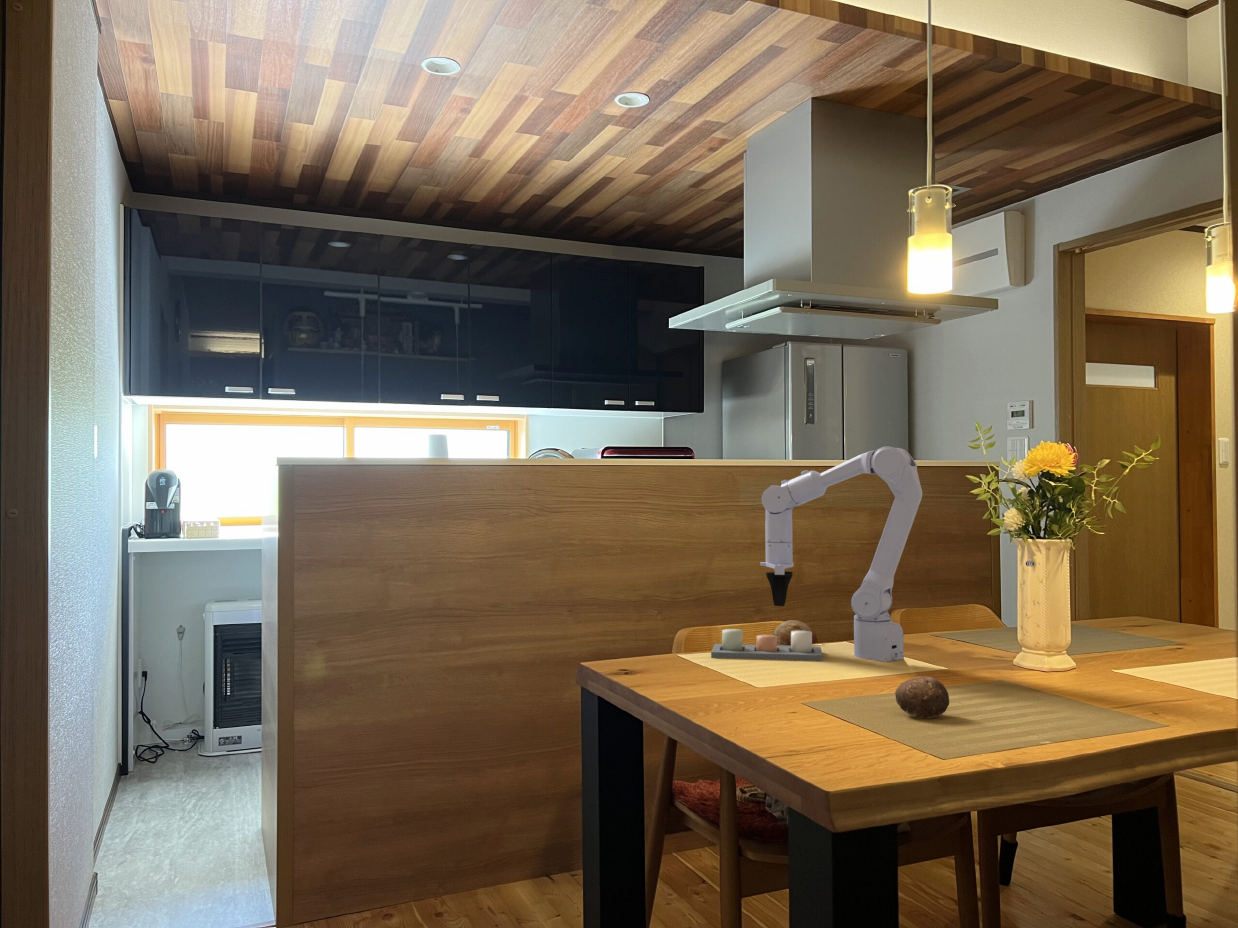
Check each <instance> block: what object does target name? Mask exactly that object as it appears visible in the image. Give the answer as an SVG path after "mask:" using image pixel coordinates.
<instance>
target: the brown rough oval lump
mask: <svg viewBox="0 0 1238 928" xmlns="http://www.w3.org/2000/svg"><path fill="white" fill-rule="evenodd" d="M894 695H895V701H896V704H897V705H898V706H899V708H900V709H901V710H902V712H904V713H905V714H908V715H909V716H911V717H915V718H917V719H933V718H937V717H939V716H941V715H943V714H944V713H946V711H947V709H948V707H949V705H950V696H949V692H948V690H947V689H946V687H945V685H944V684H943V683H942V682H941V681H939V679H938V678H936V677H935V678H934V677H932V676H927V675H925V676H923V675H922V676H915V677H913V678H912V677H911V678H910V679H907V680H905V681H903V682H901V683H900V684H899V685H898V686H897V688H896V690H895V692H894Z"/></svg>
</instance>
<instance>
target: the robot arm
mask: <svg viewBox="0 0 1238 928" xmlns="http://www.w3.org/2000/svg"><path fill="white" fill-rule="evenodd" d="M863 474H870V475H877V476H879V478H880V479H882V480H883V481H884V482H885V483H886V484H887V487H889V489H890V492H892V494H893V496H894V500H893V502H892V505H891V508H890V510H889V512H888V513H889V514H888V517H887V519H886V522H885V525H884V528H883V530H882V534H881V535H880V536H881V537H880V539H879V542H878V545H877V547H876V550H875V553H874V557H873V559H872V562H871V564H870V567H869V570H868V572H867V573H866V575H865V577H864V578H863V580H862V582H861V585H860V587H859V588H858V589H857V590H856V591H855V592H854V593H853V595H852V597H851V601H850V605H851V609H852V611H853V612H854V614H855V615H854V614H853V652H854V653H853V656H854V657H856V658H860V659H863V660H864V659H865V660H874V661H879V662H884V663H886V662H892V661H899V660H905V653H904V652H905V651H904V647H905V645H904V644H905V642H904V641H905V640H904V639H905V637H904V630H903V627H902V626H901V625H900V624H899V623H897V622H893V621H892V620H891V618H892V617H891V615H890V614H889V612H888V611H889V610H890V609H891V607H892V604H893V596H892V595H893V594H892V590H893V586H894V582H895V581H894V580H895V579H894V577H895V574H896V571H897V569H898V565H899V563H900V560H901V557H902V555H903V551H904V549H905V546H906V543H907V540H908V537H909V535H910V533H911V530H912V526H913V523H914V521H915V518H916V515H917V512H918V509H919V506H920V504H921V501H922V499H923V490H922V486H921V482H920V477H919V473H918V463H916V461H915V460H914V458H913V457H912V456H911V454H910V453H909V452H908V451H907V450H906V449H905V448H901V447H894V446H887V445H886V446H881V447H880V448H878V449H877V450H876V449H874V450H870V451H866V452H865V453H861V454H859V455H857V456H855V457H852V458H850V459H848V460H846V461H844V462H841V463H840V464H838V465H836V466H835V465H834V466H833V467H831V468H829V469H826V470H825V471H822V472H818V471H816V470H810V471H809V470H807V469H806V470H803V471H801V472H800V475H798V476H797V477H794V478H792V479H791V478H790V479H789V480H788V479H783V480H781V482H780V483H781V485H776V484H773V485H770V486H769V487H767V488H766V489H765V490H764V491H763V493H762V495H761V504H762V507H763V508H764V510H765V523H764V524H765V528H764V529H765V532H764V533H765V534H764V535H765V561H760V562H759V565H760V566H761V567H767V568H769V569H770V568H771V569H773V570H774V571H773V572H772V571H770V572H768V571H767V572H765V576H766V578H767V580H768V583H769V586H770V590H771V595H772V596H771V597H772V601H773V605H774V607H785V605H786V600H787V596H788V595H787V594H788V588H789V585H790V582H791V579H792V578H793V576H794V575H793V571H788V570H787V569H789V568H794V566H795V565H794V558H793V553H794V552H793V545H794V544H793V542H794V541H793V509H794V508H795V507H799V506H801V505H804V504H806V503H808V502H810V501H813V500H816V499H818V498H820V497H823V496H824V495H825V493H826V491H827V489H828V487H831V486H833V485H836V484H838V483H841V482H843V481H846V480H848V479H852V478H854V477H856V476H859V475H863ZM786 570H787V571H786Z"/></svg>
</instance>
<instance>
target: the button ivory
mask: <svg viewBox="0 0 1238 928" xmlns="http://www.w3.org/2000/svg"><path fill="white" fill-rule="evenodd" d="M790 646H791V652H802V653H812V647H813V644H812V632H810V631H791V645H790Z"/></svg>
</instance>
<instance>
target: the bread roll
mask: <svg viewBox="0 0 1238 928" xmlns="http://www.w3.org/2000/svg"><path fill="white" fill-rule="evenodd" d="M791 631H810V632H812V645H814V644H818V643H819V641H818V640H819V639H818V636H817V634H816V632H815V631H814V629H813V628H812V627H811V626H809V625H808V624H807V623H805V622H803V621H801V620H796V619H795V620H793V619H792V620H790V619H789V620H786V621H784V622H781V623H780V624H778V626H776V628H775V630H774V631H773V633H772V635H775V636H777V644H779V645H781V646H791Z"/></svg>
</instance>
